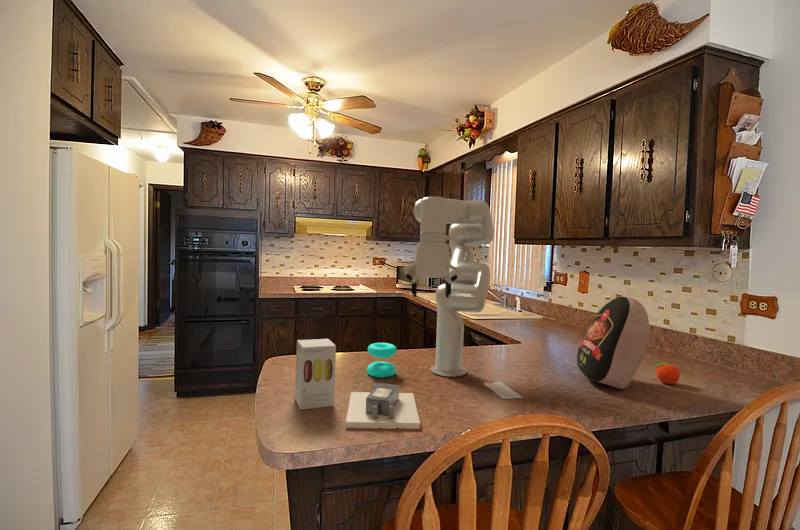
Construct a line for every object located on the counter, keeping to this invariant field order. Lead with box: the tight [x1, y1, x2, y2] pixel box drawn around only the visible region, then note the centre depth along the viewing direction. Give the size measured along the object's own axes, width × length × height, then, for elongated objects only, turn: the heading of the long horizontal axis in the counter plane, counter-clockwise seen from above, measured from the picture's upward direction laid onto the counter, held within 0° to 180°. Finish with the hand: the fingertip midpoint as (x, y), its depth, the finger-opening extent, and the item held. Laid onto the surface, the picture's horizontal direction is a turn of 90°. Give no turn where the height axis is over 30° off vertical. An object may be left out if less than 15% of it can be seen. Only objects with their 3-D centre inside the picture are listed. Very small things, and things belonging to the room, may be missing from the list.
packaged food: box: [576, 296, 650, 390], centre depth 140 cm, size 22×20×30 cm
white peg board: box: [345, 383, 421, 430], centre depth 109 cm, size 20×18×4 cm
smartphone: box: [487, 381, 525, 401], centre depth 130 cm, size 7×1×15 cm
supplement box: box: [294, 338, 337, 410], centre depth 114 cm, size 10×9×17 cm
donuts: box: [366, 342, 398, 379], centre depth 141 cm, size 10×10×10 cm
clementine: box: [653, 362, 681, 385], centre depth 143 cm, size 8×7×7 cm
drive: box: [366, 382, 400, 416], centre depth 109 cm, size 12×6×4 cm, turn 168°
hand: (430, 296), depth 122 cm, fingers open, 9 cm apart
